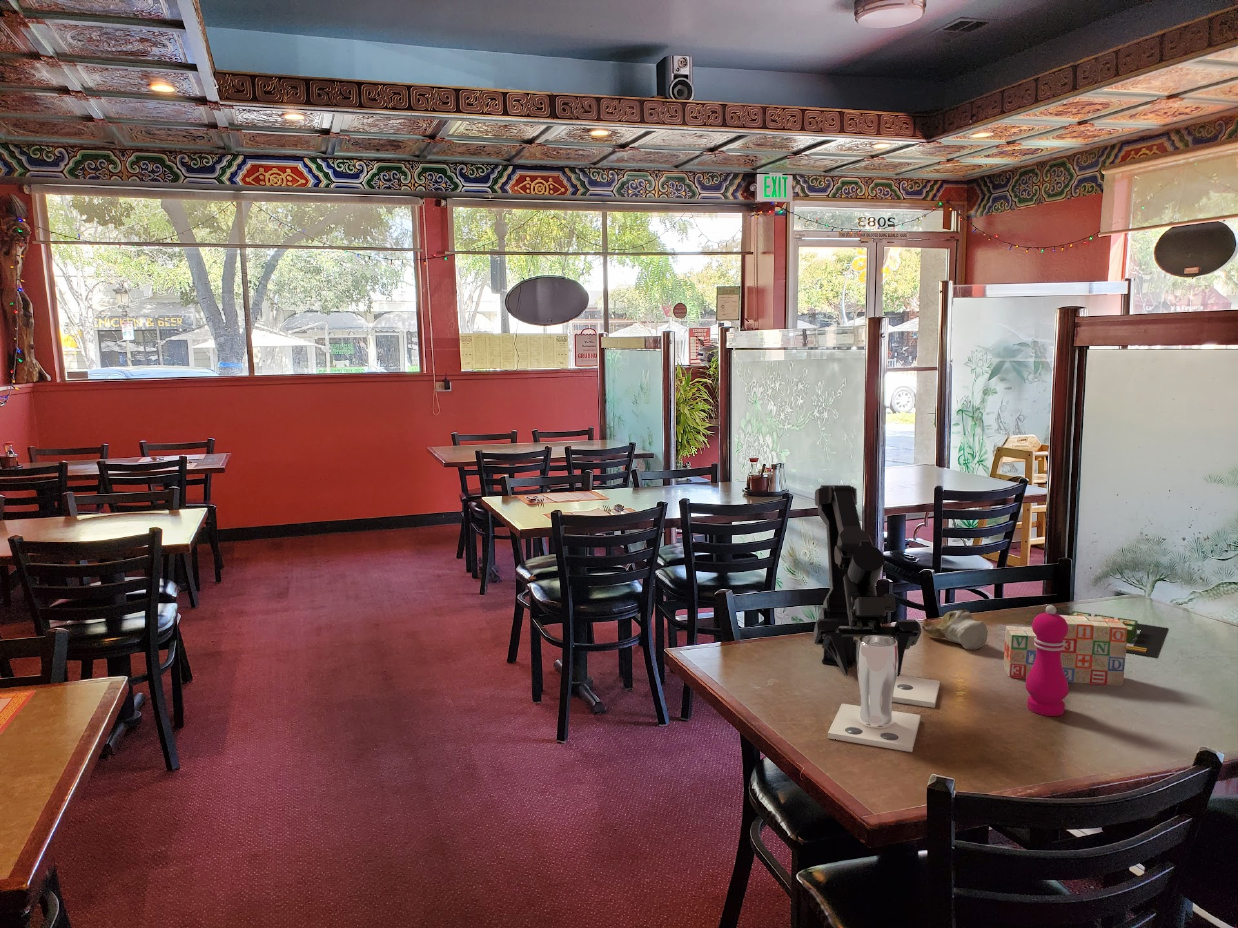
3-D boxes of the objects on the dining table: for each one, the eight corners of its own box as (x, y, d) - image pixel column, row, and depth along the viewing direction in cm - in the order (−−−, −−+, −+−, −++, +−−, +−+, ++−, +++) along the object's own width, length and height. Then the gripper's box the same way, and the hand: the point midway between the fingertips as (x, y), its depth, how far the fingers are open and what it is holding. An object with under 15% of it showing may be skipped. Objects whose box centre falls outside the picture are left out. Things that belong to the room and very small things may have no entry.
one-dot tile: (869, 698, 172) (869, 693, 172) (877, 677, 183) (877, 672, 183) (934, 707, 167) (935, 702, 167) (939, 685, 178) (939, 680, 178)
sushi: (1031, 639, 207) (1032, 624, 207) (1053, 613, 227) (1054, 599, 227) (1156, 661, 193) (1157, 644, 192) (1167, 631, 213) (1168, 616, 212)
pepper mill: (1016, 702, 169) (1021, 600, 166) (1053, 701, 170) (1058, 599, 167) (1037, 718, 162) (1043, 611, 159) (1075, 716, 162) (1081, 610, 160)
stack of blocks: (1008, 678, 182) (1011, 620, 180) (1003, 667, 188) (1005, 611, 186) (1124, 686, 177) (1128, 626, 175) (1114, 675, 183) (1118, 617, 181)
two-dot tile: (827, 738, 154) (827, 732, 154) (841, 708, 167) (841, 703, 167) (912, 752, 149) (912, 746, 149) (920, 720, 161) (920, 714, 161)
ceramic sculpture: (962, 616, 194) (919, 602, 209) (962, 655, 195) (919, 638, 209) (1002, 612, 198) (957, 598, 212) (1002, 650, 198) (957, 634, 212)
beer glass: (886, 733, 154) (889, 649, 152) (849, 723, 158) (851, 641, 156) (902, 720, 159) (905, 639, 157) (865, 710, 163) (867, 631, 161)
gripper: (817, 576, 164) (825, 655, 154) (920, 577, 162) (935, 656, 153) (810, 605, 172) (817, 681, 163) (908, 606, 171) (921, 682, 162)
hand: (872, 675), depth 160 cm, fingers open, 9 cm apart
